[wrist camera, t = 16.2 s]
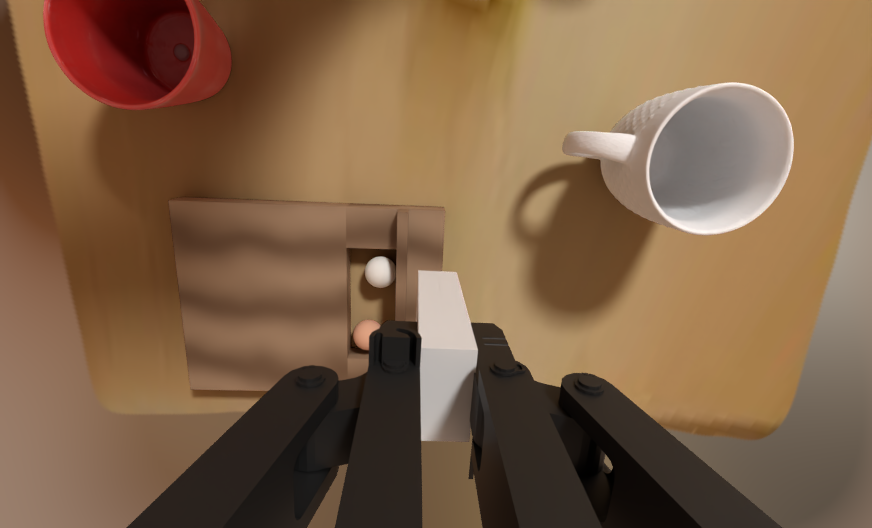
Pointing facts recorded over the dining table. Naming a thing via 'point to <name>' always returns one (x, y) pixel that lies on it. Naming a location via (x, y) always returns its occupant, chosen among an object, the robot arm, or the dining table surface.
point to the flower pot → (138, 50)
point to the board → (286, 282)
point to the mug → (695, 157)
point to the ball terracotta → (364, 333)
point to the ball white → (380, 272)
